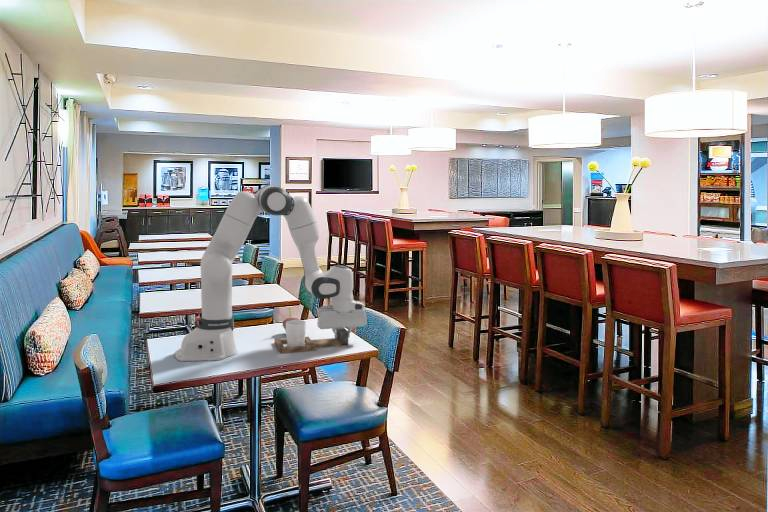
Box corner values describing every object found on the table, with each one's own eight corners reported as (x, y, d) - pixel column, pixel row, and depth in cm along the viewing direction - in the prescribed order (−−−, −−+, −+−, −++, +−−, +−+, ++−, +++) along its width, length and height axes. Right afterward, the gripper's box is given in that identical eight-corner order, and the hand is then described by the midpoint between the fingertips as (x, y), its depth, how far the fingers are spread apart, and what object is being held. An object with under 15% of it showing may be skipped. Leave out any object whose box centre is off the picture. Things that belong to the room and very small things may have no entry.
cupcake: (278, 334, 248) (278, 306, 246) (293, 330, 254) (293, 303, 252) (291, 338, 242) (291, 310, 240) (306, 334, 248) (306, 307, 247)
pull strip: (280, 353, 222) (280, 339, 221) (274, 343, 235) (274, 329, 234) (350, 347, 231) (350, 334, 230) (341, 337, 244) (341, 325, 243)
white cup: (301, 350, 226) (301, 325, 225) (282, 348, 228) (282, 324, 226) (308, 344, 234) (308, 320, 232) (290, 343, 235) (289, 319, 234)
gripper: (319, 308, 228) (319, 341, 230) (368, 305, 235) (367, 338, 237) (315, 304, 234) (315, 337, 236) (363, 301, 241) (363, 333, 243)
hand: (342, 337), depth 237 cm, fingers closed on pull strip, 3 cm apart
